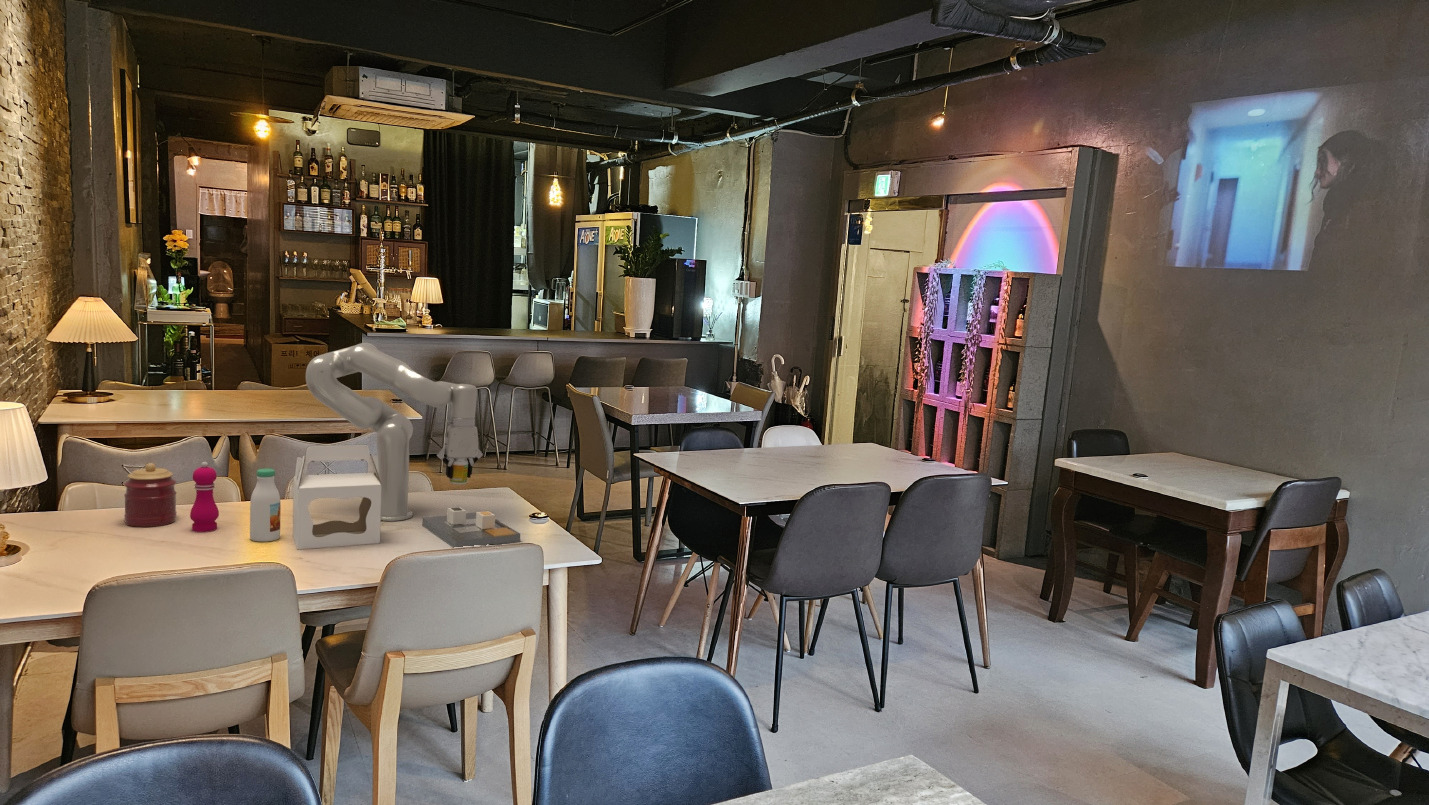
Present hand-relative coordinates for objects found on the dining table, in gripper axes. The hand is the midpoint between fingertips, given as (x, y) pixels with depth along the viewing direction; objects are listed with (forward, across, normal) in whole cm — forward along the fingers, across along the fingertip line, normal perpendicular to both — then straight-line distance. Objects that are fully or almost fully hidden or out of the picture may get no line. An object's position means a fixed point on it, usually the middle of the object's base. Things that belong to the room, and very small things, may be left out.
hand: (458, 476), depth 286 cm
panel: (+13, -3, -20) cm, 24 cm away
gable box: (+15, -40, -12) cm, 44 cm away
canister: (+17, -82, +28) cm, 88 cm away
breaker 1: (+11, -6, -16) cm, 20 cm away
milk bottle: (+16, -57, -2) cm, 59 cm away
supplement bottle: (+2, 0, 0) cm, 2 cm away
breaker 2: (+11, 0, -24) cm, 26 cm away
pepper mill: (+16, -70, +14) cm, 73 cm away
